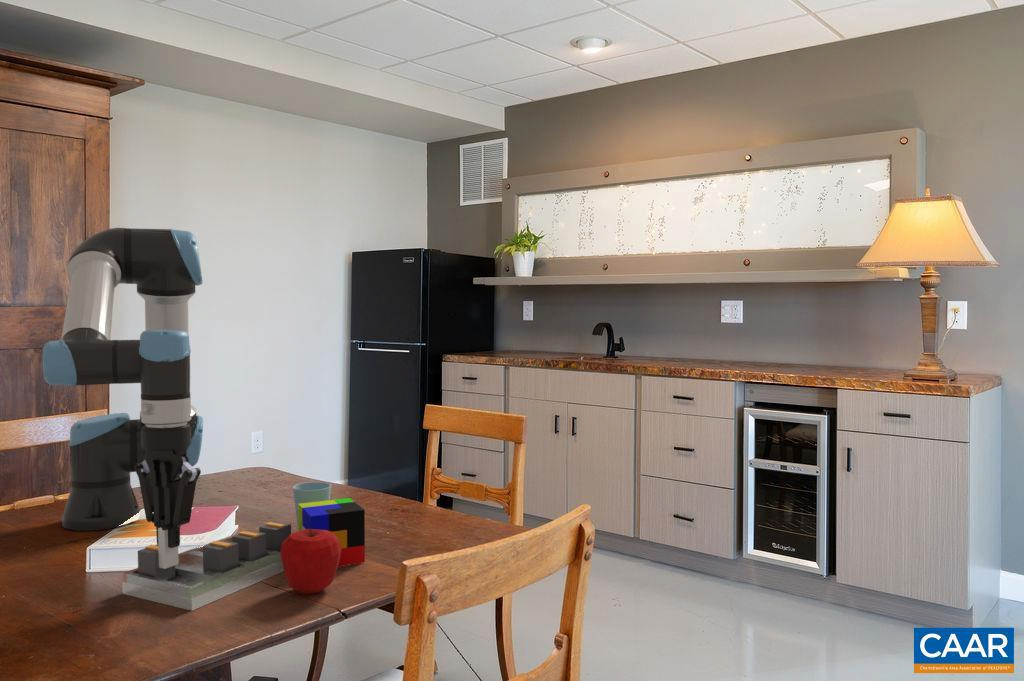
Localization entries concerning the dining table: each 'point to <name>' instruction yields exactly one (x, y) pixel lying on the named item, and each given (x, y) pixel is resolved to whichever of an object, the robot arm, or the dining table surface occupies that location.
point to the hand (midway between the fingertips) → (168, 565)
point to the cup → (311, 493)
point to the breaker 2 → (220, 556)
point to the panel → (201, 597)
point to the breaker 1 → (153, 564)
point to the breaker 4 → (275, 534)
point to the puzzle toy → (337, 525)
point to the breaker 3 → (250, 545)
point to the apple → (310, 559)
